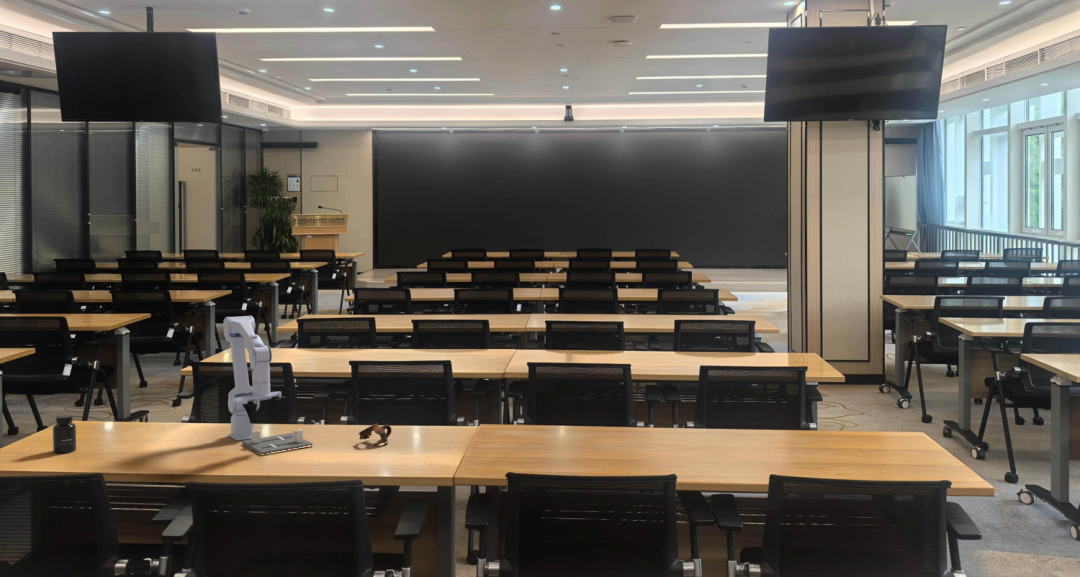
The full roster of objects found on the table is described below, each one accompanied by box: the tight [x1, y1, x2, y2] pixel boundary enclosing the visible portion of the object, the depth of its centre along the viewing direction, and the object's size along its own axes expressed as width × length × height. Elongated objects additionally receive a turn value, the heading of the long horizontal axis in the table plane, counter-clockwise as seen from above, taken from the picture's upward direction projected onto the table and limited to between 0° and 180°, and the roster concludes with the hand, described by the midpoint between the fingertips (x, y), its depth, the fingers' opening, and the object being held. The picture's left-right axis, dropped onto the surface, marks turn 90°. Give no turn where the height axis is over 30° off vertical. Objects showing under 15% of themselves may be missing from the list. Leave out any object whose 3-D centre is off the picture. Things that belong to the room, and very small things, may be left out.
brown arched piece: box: [358, 422, 393, 445], centre depth 291 cm, size 12×10×8 cm
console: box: [241, 432, 313, 454], centre depth 286 cm, size 18×18×1 cm
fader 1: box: [251, 428, 261, 443], centre depth 285 cm, size 3×2×4 cm, turn 40°
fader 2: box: [293, 428, 304, 443], centre depth 287 cm, size 3×2×4 cm, turn 40°
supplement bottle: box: [52, 414, 77, 455], centre depth 277 cm, size 7×7×12 cm
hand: (262, 421), depth 279 cm, fingers open, 7 cm apart
